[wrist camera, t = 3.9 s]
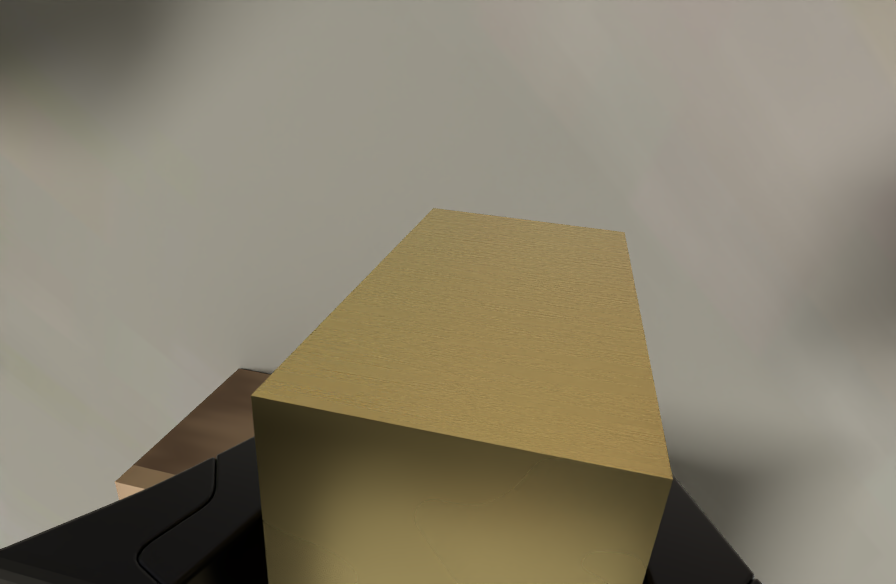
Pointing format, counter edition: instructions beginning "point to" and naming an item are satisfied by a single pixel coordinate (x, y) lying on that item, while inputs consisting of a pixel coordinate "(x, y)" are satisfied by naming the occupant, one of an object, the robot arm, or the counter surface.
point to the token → (469, 417)
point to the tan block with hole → (198, 434)
